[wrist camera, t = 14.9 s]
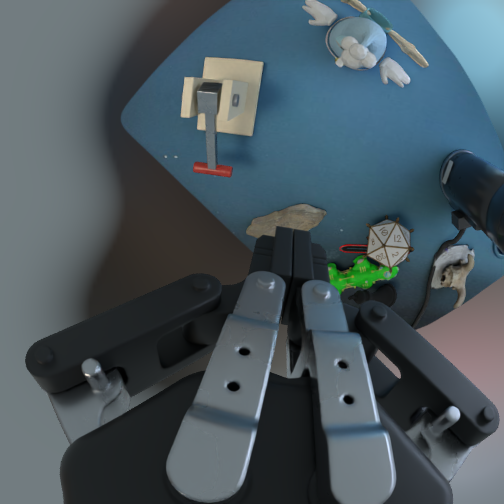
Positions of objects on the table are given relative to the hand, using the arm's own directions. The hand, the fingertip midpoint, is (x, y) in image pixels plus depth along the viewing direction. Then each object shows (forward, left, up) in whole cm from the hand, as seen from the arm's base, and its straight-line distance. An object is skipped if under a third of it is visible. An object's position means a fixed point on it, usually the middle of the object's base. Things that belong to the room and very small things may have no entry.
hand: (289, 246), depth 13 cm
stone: (-10, +5, -30) cm, 32 cm away
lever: (+5, +8, -23) cm, 25 cm away
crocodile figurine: (-26, -2, -31) cm, 40 cm away
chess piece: (-32, -9, -29) cm, 44 cm away
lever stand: (+9, +6, -31) cm, 32 cm away
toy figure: (+10, -13, -31) cm, 35 cm away
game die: (-19, -10, -31) cm, 38 cm away
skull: (-31, -23, -31) cm, 50 cm away
